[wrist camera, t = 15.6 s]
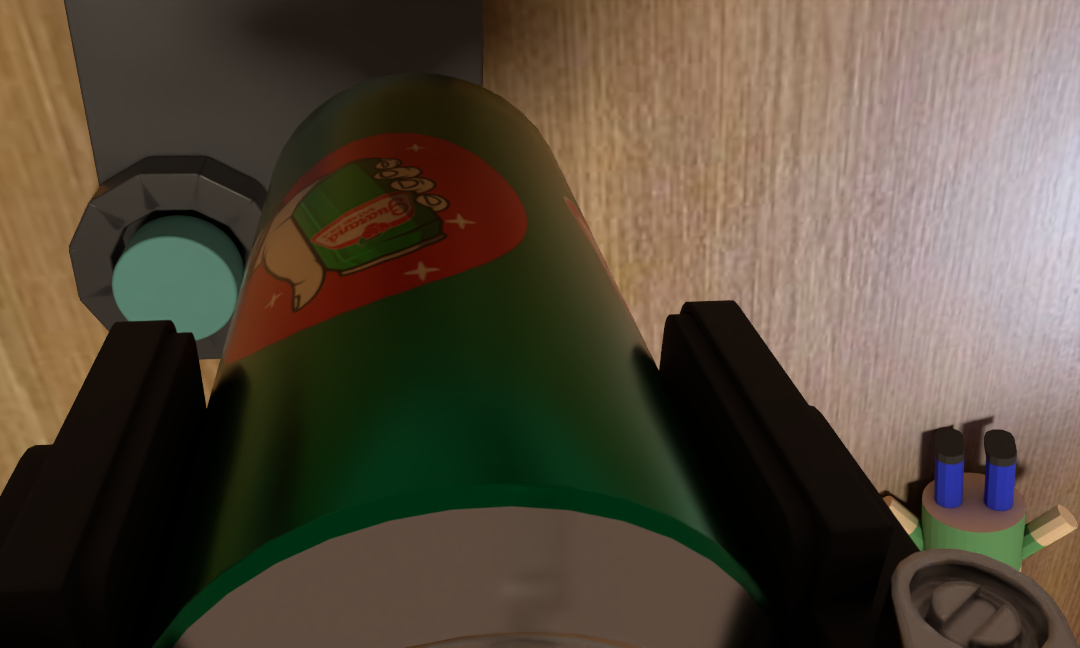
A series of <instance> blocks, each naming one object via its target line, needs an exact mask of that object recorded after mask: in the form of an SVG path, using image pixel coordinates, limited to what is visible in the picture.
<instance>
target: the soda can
mask: <svg viewBox="0 0 1080 648" xmlns="http://www.w3.org/2000/svg"><path fill="white" fill-rule="evenodd" d="M140 648H788V646H787V641H786V635H785V631H784V629H783V626H782V624H781V622H780V620H779V618H778V615H777V613H776V611H775V609H774V606H773V604H772V602H771V600H770V598H769V596H768V593H767V591H766V589H765V587H764V585H763V583H762V581H761V579H760V577H759V575H758V573H757V571H756V569H755V567H754V565H753V563H752V561H751V559H750V557H749V555H748V552H747V550H746V548H745V546H744V544H743V542H742V540H741V538H740V536H739V534H738V532H737V530H736V528H735V526H734V524H733V522H732V520H731V518H730V516H729V514H728V512H727V509H726V507H725V505H724V503H723V501H722V499H721V497H720V495H719V493H718V491H717V489H716V487H715V485H714V483H713V481H712V479H711V477H710V475H709V473H708V471H707V468H706V466H705V464H704V462H703V460H702V458H701V456H700V454H699V452H698V450H697V448H696V446H695V444H694V442H693V440H692V438H691V436H690V434H689V432H688V430H687V427H686V425H685V423H684V421H683V419H682V417H681V415H680V413H679V411H678V409H677V407H676V405H675V403H674V401H673V399H672V397H671V395H670V393H669V391H668V389H667V387H666V384H665V382H664V380H663V378H662V376H661V374H660V372H659V370H658V368H657V366H656V364H655V362H654V360H653V358H652V356H651V354H650V352H649V350H648V348H647V346H646V343H645V341H644V339H643V337H642V335H641V333H640V331H639V329H638V327H637V325H636V323H635V321H634V319H633V317H632V315H631V313H630V311H629V309H628V307H627V305H626V302H625V300H624V298H623V296H622V294H621V292H620V290H619V288H618V286H617V284H616V282H615V280H614V278H613V276H612V274H611V272H610V270H609V268H608V266H607V264H606V261H605V259H604V257H603V255H602V253H601V251H600V249H599V247H598V245H597V243H596V241H595V239H594V237H593V235H592V233H591V231H590V229H589V227H588V225H587V223H586V221H585V218H584V216H583V214H582V212H581V210H580V208H579V206H578V204H577V202H576V200H575V198H574V196H573V194H572V192H571V190H570V188H569V186H568V184H567V182H566V180H565V177H564V175H563V173H562V171H561V169H560V167H559V165H558V163H557V161H556V159H555V157H554V155H553V153H552V151H551V149H550V147H549V145H548V144H547V142H546V141H545V139H544V138H543V137H542V135H541V134H540V132H539V131H538V129H537V128H536V127H535V126H534V125H533V124H532V123H531V122H530V121H529V120H528V118H527V117H526V116H525V115H524V114H523V113H522V112H521V111H520V110H518V109H517V108H516V107H514V106H513V105H512V104H510V103H509V102H508V101H506V100H505V99H504V98H502V97H501V96H499V95H497V94H495V93H493V92H491V91H489V90H487V89H486V88H484V87H482V86H480V85H477V84H474V83H471V82H468V81H465V80H462V79H459V78H456V77H450V76H445V75H439V74H433V73H402V74H395V75H388V76H381V77H378V78H374V79H371V80H368V81H365V82H362V83H358V84H356V85H354V86H352V87H350V88H348V89H346V90H344V91H342V92H340V93H338V94H336V95H334V96H332V97H331V98H330V99H328V100H327V101H326V102H324V103H323V104H321V105H320V106H319V107H317V108H316V109H314V110H313V111H312V112H311V113H310V115H309V116H308V117H307V118H306V119H305V120H304V121H303V122H302V123H301V124H300V125H299V126H298V127H297V128H296V130H295V131H294V132H293V134H292V135H291V137H290V138H289V140H288V141H287V142H286V144H285V145H284V147H283V149H282V151H281V154H280V156H279V158H278V160H277V162H276V164H275V166H274V170H273V173H272V177H271V180H270V184H269V187H268V191H267V195H266V198H265V202H264V205H263V209H262V213H261V216H260V220H259V223H258V227H257V231H256V234H255V238H254V241H253V245H252V248H251V252H250V256H249V259H248V263H247V266H246V270H245V274H244V277H243V281H242V284H241V288H240V291H239V295H238V299H237V302H236V306H235V309H234V313H233V317H232V320H231V324H230V327H229V331H228V335H227V338H226V342H225V345H224V349H223V352H222V356H221V360H220V363H219V367H218V370H217V374H216V378H215V381H214V385H213V388H212V392H211V396H210V399H209V403H208V406H207V410H206V413H205V417H204V421H203V424H202V428H201V431H200V435H199V439H198V442H197V446H196V449H195V453H194V456H193V460H192V464H191V467H190V471H189V474H188V478H187V482H186V485H185V489H184V492H183V496H182V500H181V503H180V507H179V510H178V514H177V517H176V521H175V525H174V528H173V532H172V535H171V539H170V543H169V546H168V550H167V553H166V557H165V561H164V564H163V568H162V571H161V575H160V578H159V582H158V586H157V589H156V593H155V596H154V600H153V604H152V607H151V611H150V614H149V618H148V621H147V625H146V629H145V632H144V636H143V639H142V643H141V647H140Z"/></svg>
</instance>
